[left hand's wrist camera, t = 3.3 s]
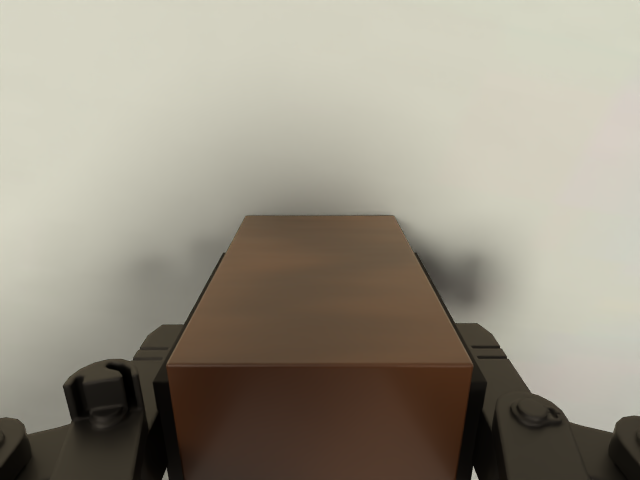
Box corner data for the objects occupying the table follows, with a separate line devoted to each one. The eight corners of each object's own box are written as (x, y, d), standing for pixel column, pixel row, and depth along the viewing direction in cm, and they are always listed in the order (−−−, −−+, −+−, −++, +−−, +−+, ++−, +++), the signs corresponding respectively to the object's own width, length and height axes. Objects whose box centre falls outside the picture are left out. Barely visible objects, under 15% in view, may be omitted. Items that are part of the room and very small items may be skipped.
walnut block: (394, 215, 14) (475, 364, 7) (386, 342, 16) (443, 570, 9) (245, 214, 14) (163, 364, 7) (253, 341, 16) (196, 570, 9)
